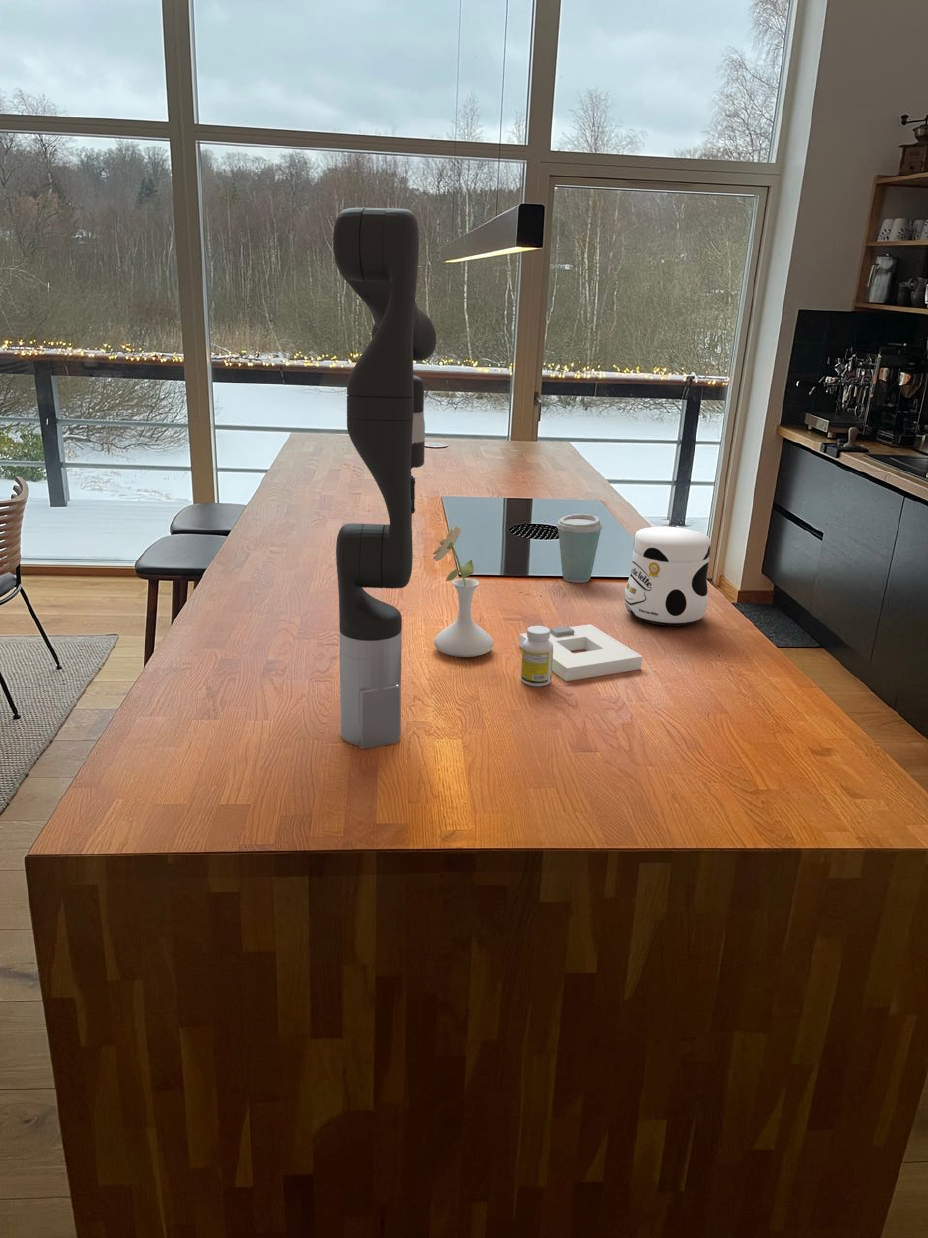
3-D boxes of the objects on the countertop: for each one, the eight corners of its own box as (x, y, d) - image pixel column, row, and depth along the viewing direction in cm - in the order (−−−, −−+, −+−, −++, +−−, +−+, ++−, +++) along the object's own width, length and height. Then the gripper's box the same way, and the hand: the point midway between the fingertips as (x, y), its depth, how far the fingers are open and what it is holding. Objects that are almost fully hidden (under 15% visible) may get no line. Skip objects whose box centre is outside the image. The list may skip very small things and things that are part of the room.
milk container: (606, 616, 201) (614, 534, 195) (651, 599, 213) (659, 521, 207) (678, 638, 190) (688, 552, 184) (720, 618, 202) (731, 537, 196)
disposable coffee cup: (576, 588, 219) (581, 525, 213) (543, 577, 226) (547, 516, 221) (607, 580, 225) (612, 519, 220) (573, 569, 233) (578, 510, 228)
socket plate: (641, 669, 175) (642, 652, 173) (565, 681, 168) (567, 664, 167) (589, 635, 190) (590, 620, 189) (518, 646, 183) (519, 630, 182)
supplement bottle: (532, 672, 171) (535, 621, 168) (557, 680, 168) (560, 629, 165) (514, 681, 168) (517, 629, 164) (539, 690, 164) (542, 637, 161)
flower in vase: (463, 636, 188) (468, 512, 179) (505, 652, 180) (512, 524, 172) (414, 652, 179) (416, 523, 170) (456, 670, 171) (460, 536, 163)
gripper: (430, 444, 157) (428, 539, 162) (418, 431, 170) (417, 520, 175) (385, 444, 156) (385, 540, 161) (376, 431, 169) (376, 520, 174)
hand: (401, 529), depth 168 cm, fingers open, 8 cm apart
